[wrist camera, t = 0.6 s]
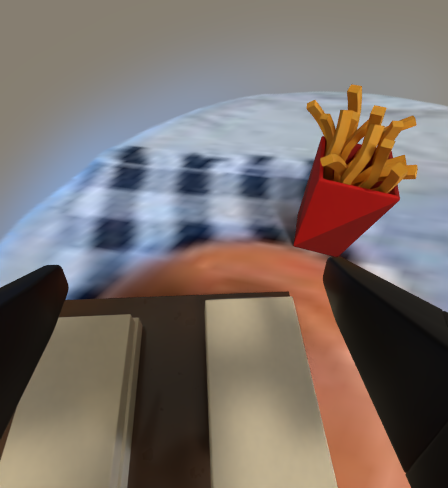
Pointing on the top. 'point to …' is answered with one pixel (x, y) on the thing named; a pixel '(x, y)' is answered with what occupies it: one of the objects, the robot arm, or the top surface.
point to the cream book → (262, 398)
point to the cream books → (77, 408)
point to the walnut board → (165, 387)
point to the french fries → (350, 177)
